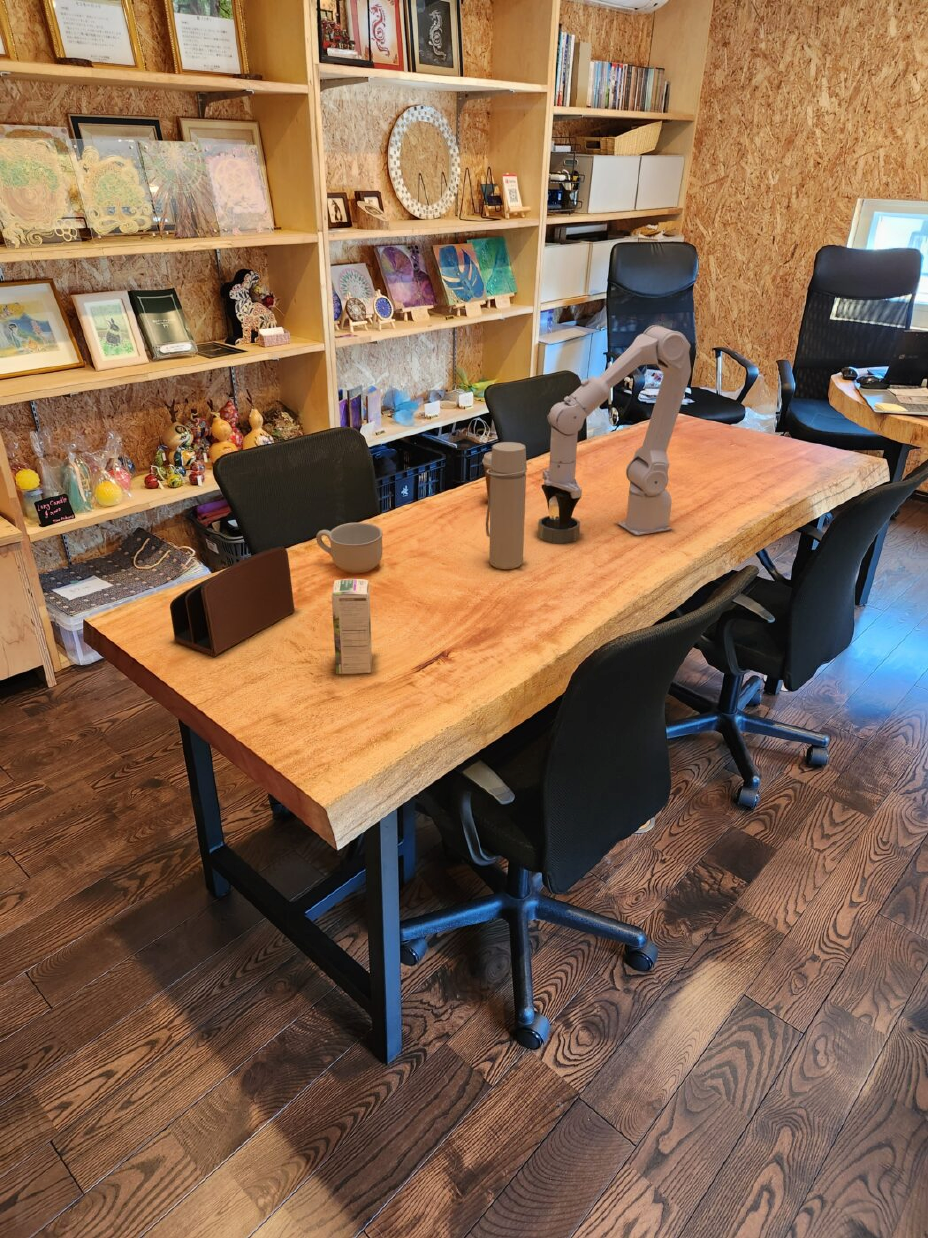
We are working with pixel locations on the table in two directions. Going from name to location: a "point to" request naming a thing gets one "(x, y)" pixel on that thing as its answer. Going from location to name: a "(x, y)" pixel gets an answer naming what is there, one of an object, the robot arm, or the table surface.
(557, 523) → the milkshake
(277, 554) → the letter holder
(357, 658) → the syrup box
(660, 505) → the robot arm
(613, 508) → the table surface
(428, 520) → the table surface
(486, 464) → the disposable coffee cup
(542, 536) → the brown hollow ring
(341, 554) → the teacup
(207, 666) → the table surface
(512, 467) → the water bottle
